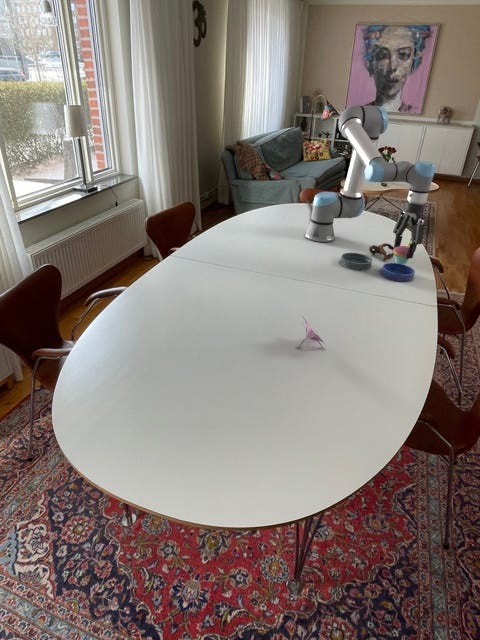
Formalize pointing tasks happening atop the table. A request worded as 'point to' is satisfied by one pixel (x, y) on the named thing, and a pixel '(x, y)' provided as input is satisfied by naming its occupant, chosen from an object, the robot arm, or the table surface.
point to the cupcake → (401, 253)
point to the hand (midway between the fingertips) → (402, 254)
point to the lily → (311, 334)
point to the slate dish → (356, 261)
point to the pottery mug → (382, 251)
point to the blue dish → (397, 272)
